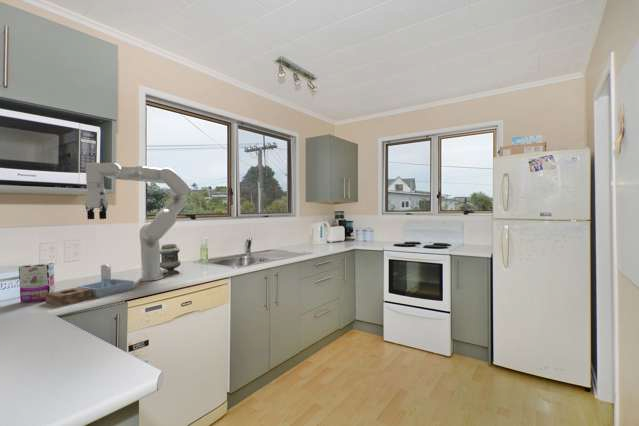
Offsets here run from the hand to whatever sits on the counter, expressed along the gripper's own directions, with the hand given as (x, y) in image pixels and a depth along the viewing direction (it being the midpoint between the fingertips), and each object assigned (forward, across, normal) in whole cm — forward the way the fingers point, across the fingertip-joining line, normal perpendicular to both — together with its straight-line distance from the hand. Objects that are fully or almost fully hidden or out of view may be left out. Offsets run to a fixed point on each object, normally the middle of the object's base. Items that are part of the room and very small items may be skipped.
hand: (96, 219), depth 168 cm
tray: (+36, -15, +6) cm, 39 cm away
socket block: (+36, -14, +22) cm, 44 cm away
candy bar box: (+36, +1, +27) cm, 45 cm away
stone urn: (+36, -8, -38) cm, 53 cm away
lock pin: (+35, -15, +6) cm, 38 cm away
